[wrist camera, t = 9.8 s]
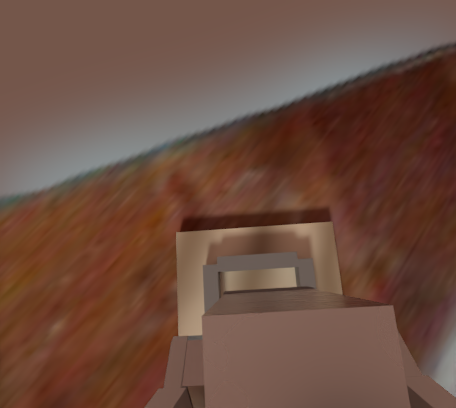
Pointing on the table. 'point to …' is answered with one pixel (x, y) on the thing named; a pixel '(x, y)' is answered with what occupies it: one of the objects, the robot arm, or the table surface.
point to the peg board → (251, 264)
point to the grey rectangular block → (301, 351)
